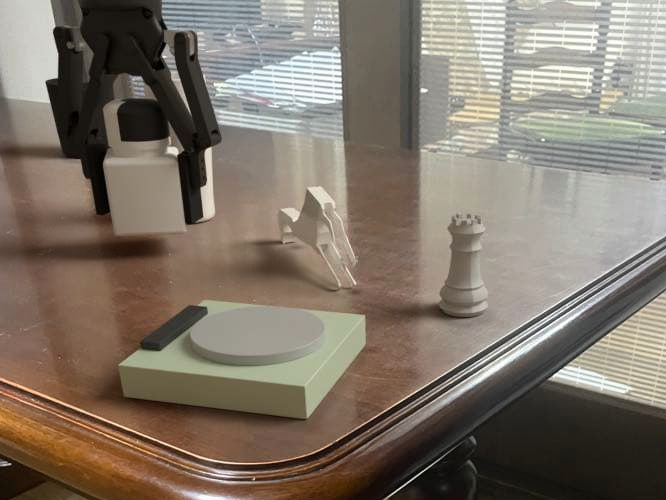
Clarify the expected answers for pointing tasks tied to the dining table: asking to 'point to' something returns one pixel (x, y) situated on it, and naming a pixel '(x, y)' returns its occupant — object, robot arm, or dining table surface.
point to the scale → (245, 358)
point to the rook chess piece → (464, 269)
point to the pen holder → (52, 87)
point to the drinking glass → (208, 188)
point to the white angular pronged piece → (316, 228)
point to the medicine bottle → (142, 170)
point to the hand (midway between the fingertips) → (150, 216)
